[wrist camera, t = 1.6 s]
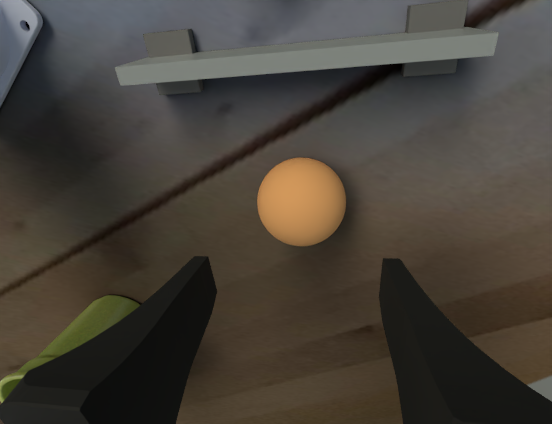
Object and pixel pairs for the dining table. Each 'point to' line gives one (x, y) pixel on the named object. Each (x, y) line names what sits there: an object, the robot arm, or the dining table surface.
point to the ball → (301, 201)
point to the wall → (315, 52)
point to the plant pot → (76, 334)
